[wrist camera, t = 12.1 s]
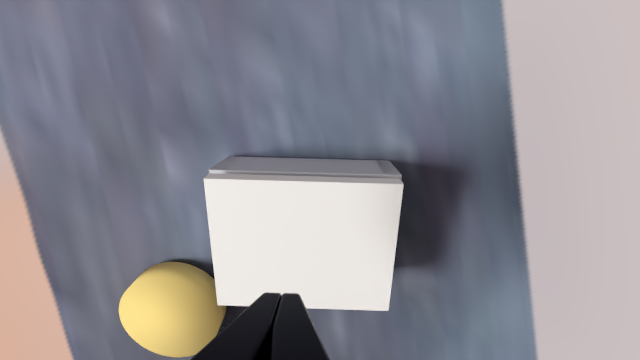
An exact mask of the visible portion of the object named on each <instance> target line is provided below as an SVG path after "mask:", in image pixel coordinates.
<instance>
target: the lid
mask: <svg viewBox="0 0 640 360" xmlns="http://www.w3.org/2000/svg"><path fill="white" fill-rule="evenodd" d="M403 185H404V184H403V182H402V181H401V179H394V178H358V177H322V176H286V175H251V174H215V173H209V174H208V175H207V176H206V177H205V178H204V187H205V196H206V205H207V214H208V223H209V232H210V241H211V250H212V259H213V268H214V278H215V287H216V296H217V305H224V306H250V305H251V304H252V303H253V302H254V301H255V300H256V299H258V298H259V297H260V296H261V295H262V294H263V293H265V292H270V293H280V294H281V295H282V294H284V293H298V294H299V295H300V296H301V298H302V300H303V303H304V305H305V307H306V308H315V309H345V310H375V311H388V310H389V302H390V293H391V285H392V277H393V268H394V260H395V252H396V244H397V235H398V227H399V219H400V210H401V202H402V194H403Z"/></svg>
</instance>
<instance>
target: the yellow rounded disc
mask: <svg viewBox="0 0 640 360" xmlns="http://www.w3.org/2000/svg"><path fill="white" fill-rule="evenodd" d="M225 313H226V306H224V305H217V296H216V287H215V280H214V279H213V278H212V277H211V276H210V275H209V274H207V273H206V272H204V271H203V270H201V269H199V268H197V267H195V266H192V265H190V264H186V263H181V262H163V263H159V264H156V265H153V266H151V267H149V268H148V269H146V270H145V271H144V272H143V273H142V274H141V275H140V276H139V277H138V278H137V279H136V280H135V281H134V283H133V284H132V285H131V286H130V287H129V288H128V289H127V290H126V291H125V293H124V294H123V296H122V298H121V300H120V304H119V315H120V319H121V322H122V325H123V326H124V328H125V330H126V331H127V333H128V334H129V335H130V336H131V337H132V338H133V339H134V340H135V341H136V342H137V343H138V344H140V345H141V346H143V347H144V348H146V349H148V350H150V351H152V352H154V353H157V354H160V355H164V356H169V357H187V356H192V355H195V354H197V353H198V352H199V351H200V350H201V349H203V348H204V347H205V346H206V345H207V344H208V343H209V342H210V341H211V340H212V339H214V338H215V337H216V335H217V333H218V330H219V328H220V326H221V324H222V321H223V319H224V317H225Z"/></svg>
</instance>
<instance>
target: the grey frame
mask: <svg viewBox="0 0 640 360" xmlns="http://www.w3.org/2000/svg"><path fill="white" fill-rule="evenodd" d="M209 173H215V174H251V175H286V176H322V177H358V178H394V179H402V175H401V174H400V173H399V171H398V170H397V169H396V168H395V167H394V166H393V165H392V163H391V162H390V161H385V160H348V159H312V158H275V157H239V156H229V157H227V158H226V159H224V160H223V161H221V162H220V163H218V164H217V165H215V166H214V167H213V168H211V169H210V170H209Z"/></svg>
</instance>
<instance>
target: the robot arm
mask: <svg viewBox="0 0 640 360" xmlns="http://www.w3.org/2000/svg"><path fill="white" fill-rule="evenodd" d="M190 360H330V359H329V357H328V354H327V352H326V350H325V348H324V346H323V344H322V341H321V339H320V337H319V335H318V333H317V331H316V328H315V326H314V324H313V322H312V320H311V318H310V316H309V313H308V311H307V309H306V307H305V305H304V303H303V300H302V298H301V296H300V295H299V294H298V293H284V294H282V295H281V294H280V293H270V292H265V293H263V294H262V295H261V296H260V297H259V298H258V299H256V300H255V301H254V302H253V303H252V304H251V305H250V306H249V307H248V308H247V309H245V310H244V311H243V312H242V313H241V314H240V315H239V316H238V317H237V318H236V319H234V320H233V321H232V322H231V323H230V324H229V325H228V326H227V327H226V328H225V329H223V330H222V331H221V332H220V333H219V334H218V335H217V336H216V337H215V338H214V339H212V340H211V341H210V342H209V343H208V344H207V345H206V346H205V347H204V348H203V349H201V350H200V351H199V352H198V353H197V354H196V355H195V356H194V357H193V358H192V359H190Z"/></svg>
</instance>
